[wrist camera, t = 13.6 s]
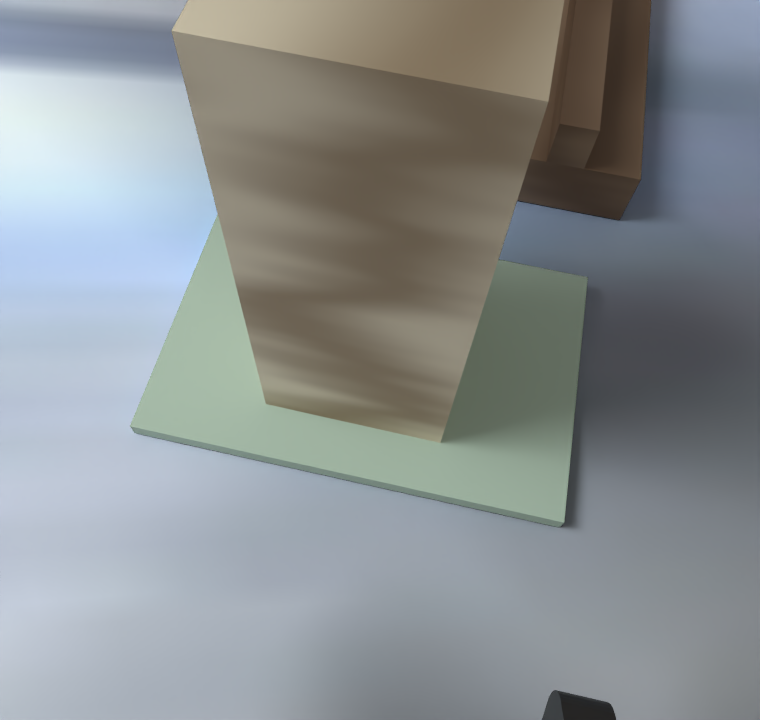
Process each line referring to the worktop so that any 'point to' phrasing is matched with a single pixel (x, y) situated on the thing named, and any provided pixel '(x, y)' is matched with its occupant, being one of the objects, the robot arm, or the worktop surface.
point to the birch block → (366, 184)
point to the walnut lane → (593, 110)
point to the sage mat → (378, 447)
